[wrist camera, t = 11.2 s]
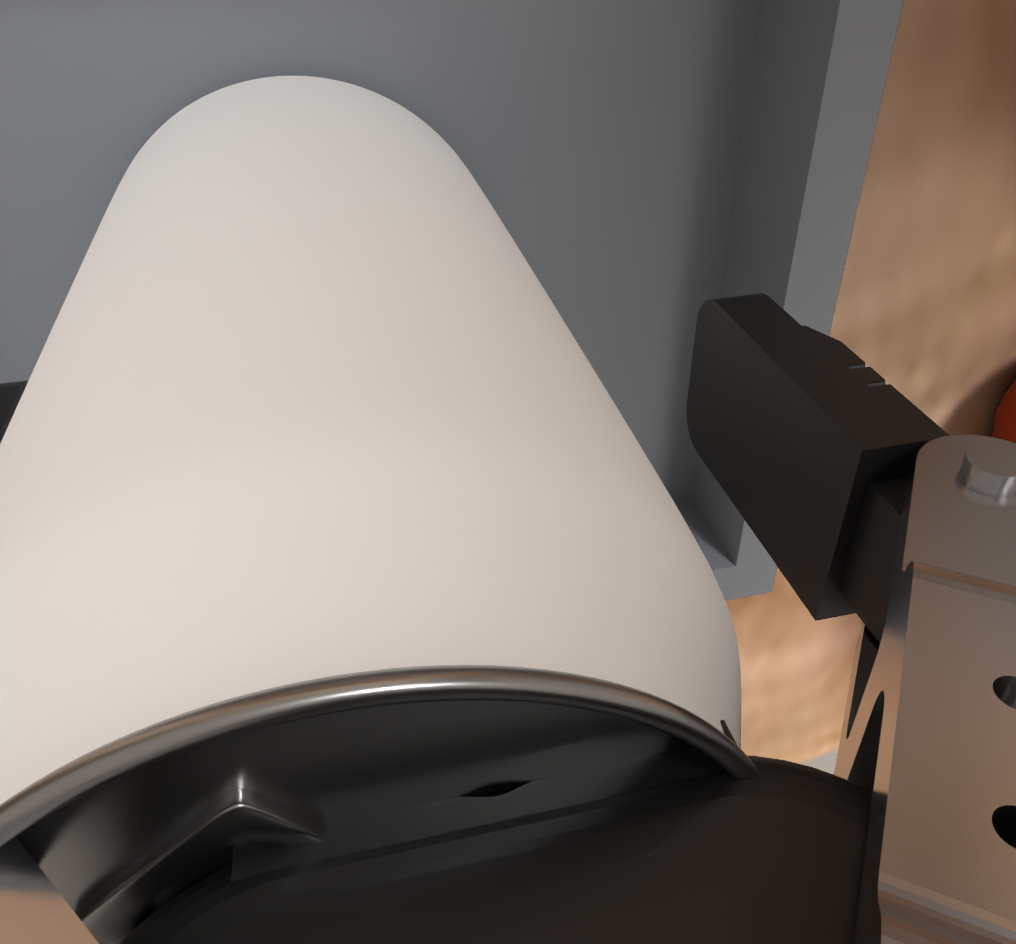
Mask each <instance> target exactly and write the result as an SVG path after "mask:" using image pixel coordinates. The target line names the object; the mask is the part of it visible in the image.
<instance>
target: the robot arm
mask: <svg viewBox="0 0 1016 944" xmlns="http://www.w3.org/2000/svg"><path fill="white" fill-rule="evenodd" d="M28 381H29V380H27V381H18V382H10V383H2V384H0V443H1V441H2V439H3V437H4V434H5V432H6V430H7V428H8V425H9V423H10V421H11V419H12V417H13V414H14V412H15V410H16V408H17V405H18V403H19V401H20V399H21V396H22V394H23V392H24V390H25V388H26V385H27V383H28ZM686 415H687V425H688V431H689V435H690V438H691V441H692V444H693V446H694V448H695V450H696V452H697V453H698V455H699V456H700V457H701V459H702V460H703V462H704V463H705V465H706V466H707V467H708V469H709V470H710V472H711V473H712V474H713V476H714V477H715V479H716V480H717V482H718V483H719V484H720V486H721V487H722V489H723V490H724V491H725V493H726V494H727V496H728V497H729V499H730V500H731V501H732V503H733V504H734V506H735V507H736V508H737V510H738V511H739V513H740V514H741V516H742V517H743V518H744V520H745V521H746V523H747V524H748V525H749V527H750V528H751V530H752V531H753V533H754V534H755V535H756V537H757V538H758V540H759V541H760V542H761V544H762V545H763V547H764V548H765V550H766V551H767V552H768V554H769V555H770V557H771V558H772V559H773V561H774V562H775V564H776V565H777V567H778V568H779V569H780V571H781V572H782V574H783V575H784V576H785V578H786V579H787V581H788V582H789V584H790V585H791V586H792V588H793V589H794V591H795V592H796V593H797V595H798V596H799V598H800V599H801V601H802V602H803V603H804V605H805V606H806V608H807V609H808V610H809V612H810V613H811V615H812V616H813V618H814V619H815V620H822V619H827V618H832V617H837V616H843V615H848V614H853V613H857V615H858V616H859V617H860V619H861V620H862V621H863V623H864V624H863V627H862V630H861V633H860V636H859V639H858V642H857V646H856V652H855V657H854V663H853V669H852V675H851V680H850V686H849V692H848V698H847V703H846V709H845V715H844V721H843V726H842V732H841V738H840V744H839V749H838V755H837V761H836V766H835V770H834V775H833V774H830V773H827V772H824V771H821V770H819V769H816V768H813V767H809V766H805V765H801V764H797V763H793V762H789V761H785V760H779V759H772V758H765V757H758V756H747V757H748V758H749V759H750V760H751V761H752V763H753V764H754V765H755V767H756V768H757V771H758V773H757V775H756V776H755V777H753V778H750V779H744V780H738V779H735V778H732V777H731V776H730V775H729V774H728V773H727V772H726V771H725V770H724V769H723V768H722V767H721V766H720V765H718V764H717V763H716V762H715V761H713V760H712V759H711V758H710V757H708V756H707V755H705V754H704V753H703V752H701V751H700V750H698V749H696V748H695V747H693V746H691V745H690V744H688V743H685V744H684V745H682V746H680V747H678V748H675V749H672V750H668V751H665V752H660V753H656V754H652V755H648V756H644V757H640V758H635V759H631V760H626V761H622V762H618V763H613V764H609V765H604V766H599V767H595V768H590V769H586V770H581V771H577V772H572V773H567V774H563V775H558V776H553V777H549V778H544V779H539V780H535V781H531V782H529V783H527V784H525V785H523V786H521V787H519V788H517V789H515V790H513V791H511V792H508V793H505V794H503V795H499V796H494V797H454V798H449V799H444V800H440V801H435V802H430V803H425V804H421V805H416V806H411V807H406V808H402V809H397V810H392V811H387V812H383V813H378V814H373V815H368V816H363V817H359V818H354V819H349V820H344V821H340V822H335V823H330V824H325V825H326V838H325V840H324V841H322V842H320V843H316V844H311V845H305V846H289V845H284V844H278V843H272V842H261V841H249V842H242V843H238V844H235V845H233V860H232V864H231V865H229V866H227V867H225V868H222V869H220V870H218V871H216V872H214V873H212V874H210V875H209V876H207V877H205V878H204V879H202V880H200V881H199V882H197V883H195V884H194V885H192V886H190V887H189V888H187V889H185V890H184V891H182V892H181V893H179V894H178V895H176V896H175V897H174V898H172V899H171V900H170V901H168V902H167V903H166V904H164V905H163V906H162V907H160V908H159V909H157V910H156V911H155V912H153V913H152V914H151V915H150V916H149V917H148V918H146V919H145V920H144V921H143V922H142V923H141V924H140V925H139V926H137V927H136V928H135V929H134V930H133V931H132V932H131V933H130V934H128V935H127V936H126V937H125V938H124V939H123V940H122V941H121V942H120V943H119V944H1016V443H1012V442H1009V441H1006V440H1002V439H998V438H994V437H988V436H982V435H970V434H961V435H948V434H947V433H946V432H945V431H944V430H942V429H941V428H940V427H939V426H938V425H937V424H936V423H934V422H933V421H932V420H931V419H930V418H929V417H927V416H926V415H925V414H924V413H923V412H922V411H921V410H919V409H918V408H917V407H916V406H915V405H914V404H912V403H911V402H910V401H909V400H908V399H907V398H906V397H904V396H903V395H902V394H901V393H900V392H899V391H897V390H896V389H895V388H894V387H893V386H892V385H890V384H889V385H886V384H885V379H884V378H882V377H881V376H880V375H879V374H878V373H877V372H875V371H874V370H873V369H872V368H871V367H865V362H864V361H863V360H862V359H860V358H859V357H858V356H857V355H856V354H855V353H853V352H852V351H851V350H850V349H849V348H848V347H847V346H845V345H844V344H843V343H842V342H841V341H838V340H836V339H834V338H832V337H830V336H827V335H825V334H823V333H821V332H819V331H816V330H814V329H812V328H810V327H808V326H806V325H804V326H801V325H800V324H799V323H798V322H797V321H796V320H795V319H794V318H793V317H791V316H790V315H789V314H788V313H787V312H786V311H785V310H784V309H783V308H781V307H780V306H779V305H778V304H777V303H776V302H775V301H774V300H772V299H771V298H770V297H769V296H768V295H766V294H763V293H760V294H751V295H743V296H735V297H726V298H718V299H710V300H707V301H705V302H704V303H703V304H702V306H701V308H700V310H699V313H698V316H697V322H696V331H695V339H694V347H693V356H692V364H691V372H690V381H689V389H688V397H687V407H686ZM720 723H721V726H722V729H723V732H724V734H725V735H726V736H727V737H728V738H729V739H731V740H732V741H733V742H734V743H735V744H736V742H735V740H734V738H733V736H732V734H731V732H730V730H729V728H728V726H727V725H726V723H725V721H724V720H720ZM736 745H737V744H736ZM0 944H99V943H98V942H97V940H96V939H95V938H94V937H93V935H92V934H91V933H90V931H89V930H88V929H87V928H86V926H85V925H84V924H83V922H82V921H81V920H80V919H79V917H78V916H77V915H76V913H75V912H74V911H73V910H72V908H71V907H70V906H69V904H68V903H67V902H66V901H65V899H64V898H63V897H62V895H61V894H60V893H59V892H58V890H57V889H56V888H55V886H54V885H53V884H52V883H51V881H50V880H49V879H48V877H47V876H46V875H45V874H44V872H43V871H42V870H41V868H40V867H39V866H38V865H37V863H36V862H35V861H34V859H33V858H32V857H31V855H30V854H29V853H28V852H27V850H26V849H25V848H24V846H23V845H22V844H21V843H20V841H19V840H18V839H17V837H14V838H13V839H11V840H10V841H9V842H7V843H6V844H5V845H3V846H2V847H1V848H0Z"/></svg>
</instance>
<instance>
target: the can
mask: <svg viewBox="0 0 1016 944" xmlns="http://www.w3.org/2000/svg"><path fill="white" fill-rule="evenodd" d="M720 720H724V721H725V723H726V725H727V726H728V728H729V730H730V732H731V734H732V736H733V738H734V740H735V742H736V744H737V745H736V744H735V743H734V742H733V741H732V740H731V739H729V738H728V737H727V736H726V735H725V734H724V732H723V729H722V726H721V723H720ZM685 743H688V744H690V745H691V746H693V747H695V748H696V749H698V750H700V751H701V752H703V753H704V754H705V755H707V756H708V757H710V758H711V759H712V760H713V761H715V762H716V763H717V764H718V765H720V766H721V767H722V768H723V769H724V770H725V771H726V772H727V773H728V774H729V775H730V776H731V777H732V778H735V779H738V780H744V779H750V778H753V777H755V776H756V775H757V773H758V771H757V768H756V767H755V765H754V764H753V763H752V761H751V760H750V759H749V758H748V757H747V755H746V754H745V753H744V752H743V751H742V750H741V675H740V661H739V654H738V647H737V640H736V634H735V630H734V625H733V621H732V618H731V615H730V612H729V609H728V606H727V604H726V601H725V599H724V596H723V594H722V592H721V590H720V587H719V585H718V583H717V580H716V578H715V576H714V573H713V571H712V569H711V567H710V565H709V563H708V561H707V559H706V558H705V556H704V554H703V552H702V550H701V549H700V547H699V545H698V543H697V542H696V540H695V538H694V536H693V534H692V533H691V531H690V529H689V527H688V525H687V524H686V522H685V520H684V518H683V517H682V515H681V513H680V511H679V510H678V508H677V506H676V504H675V503H674V501H673V499H672V498H671V496H670V494H669V493H668V491H667V489H666V488H665V486H664V484H663V483H662V481H661V479H660V478H659V476H658V474H657V473H656V471H655V469H654V468H653V466H652V464H651V463H650V461H649V459H648V458H647V456H646V454H645V453H644V451H643V449H642V448H641V446H640V444H639V443H638V441H637V439H636V438H635V436H634V435H633V433H632V431H631V430H630V428H629V426H628V425H627V423H626V421H625V420H624V418H623V417H622V415H621V413H620V412H619V410H618V408H617V407H616V405H615V404H614V402H613V400H612V399H611V397H610V395H609V394H608V392H607V390H606V389H605V387H604V386H603V384H602V382H601V381H600V379H599V377H598V376H597V374H596V372H595V371H594V369H593V368H592V366H591V364H590V363H589V361H588V359H587V358H586V356H585V355H584V353H583V351H582V350H581V348H580V346H579V345H578V343H577V342H576V340H575V338H574V337H573V335H572V333H571V332H570V330H569V329H568V327H567V325H566V324H565V322H564V321H563V319H562V317H561V316H560V314H559V312H558V311H557V309H556V308H555V306H554V304H553V303H552V301H551V299H550V298H549V296H548V295H547V293H546V291H545V290H544V288H543V287H542V285H541V283H540V282H539V280H538V279H537V277H536V275H535V274H534V272H533V271H532V269H531V267H530V266H529V264H528V262H527V261H526V259H525V258H524V256H523V254H522V253H521V251H520V250H519V248H518V246H517V245H516V243H515V242H514V240H513V238H512V237H511V235H510V234H509V232H508V230H507V229H506V227H505V226H504V224H503V223H502V221H501V219H500V218H499V216H498V215H497V213H496V211H495V210H494V208H493V207H492V205H491V204H490V202H489V200H488V199H487V197H486V196H485V194H484V193H483V191H482V190H481V188H480V187H479V185H478V184H477V182H476V180H475V179H474V177H473V176H472V174H471V173H470V172H469V170H468V169H467V167H466V166H465V165H464V163H463V162H462V160H461V159H460V158H459V156H458V155H457V154H456V153H455V152H454V150H453V149H452V148H451V147H450V146H449V145H448V144H447V142H446V141H445V140H444V139H443V138H442V137H441V136H440V135H439V134H438V133H437V132H435V131H434V130H433V129H432V128H431V127H430V126H429V125H428V124H426V123H425V122H424V121H423V120H421V119H420V118H419V117H417V116H416V115H415V114H413V113H412V112H410V111H409V110H407V109H406V108H404V107H403V106H401V105H399V104H398V103H396V102H394V101H392V100H390V99H388V98H386V97H384V96H382V95H380V94H378V93H375V92H373V91H371V90H368V89H365V88H362V87H360V86H357V85H353V84H350V83H346V82H342V81H338V80H333V79H328V78H321V77H312V76H274V77H265V78H259V79H253V80H249V81H244V82H241V83H237V84H234V85H230V86H228V87H225V88H222V89H219V90H217V91H215V92H212V93H210V94H208V95H206V96H204V97H202V98H200V99H198V100H196V101H194V102H193V103H191V104H190V105H188V106H186V107H185V108H183V109H182V110H181V111H179V112H178V113H176V114H175V115H174V116H173V117H171V118H170V119H169V120H168V121H166V122H165V123H164V124H163V125H162V126H161V127H160V128H159V129H158V130H157V131H156V132H155V133H154V134H153V135H152V136H151V137H150V138H149V140H148V141H147V142H146V143H145V144H144V146H143V147H142V148H141V149H140V151H139V152H138V153H137V155H136V156H135V158H134V159H133V161H132V162H131V164H130V166H129V167H128V169H127V171H126V173H125V174H124V176H123V178H122V180H121V182H120V184H119V185H118V187H117V190H116V192H115V194H114V196H113V198H112V200H111V202H110V204H109V206H108V208H107V210H106V212H105V214H104V217H103V219H102V221H101V223H100V225H99V227H98V230H97V232H96V234H95V236H94V238H93V240H92V242H91V245H90V247H89V249H88V251H87V253H86V255H85V258H84V260H83V262H82V264H81V266H80V269H79V271H78V273H77V275H76V277H75V279H74V282H73V284H72V286H71V288H70V290H69V293H68V295H67V297H66V299H65V301H64V304H63V306H62V308H61V310H60V312H59V315H58V317H57V319H56V321H55V323H54V326H53V328H52V330H51V332H50V334H49V337H48V339H47V341H46V343H45V345H44V348H43V350H42V352H41V354H40V357H39V359H38V361H37V363H36V365H35V368H34V370H33V372H32V374H31V376H30V379H29V381H28V383H27V385H26V388H25V390H24V392H23V394H22V396H21V399H20V401H19V403H18V405H17V408H16V410H15V412H14V414H13V417H12V419H11V421H10V423H9V425H8V428H7V430H6V432H5V434H4V437H3V439H2V441H1V443H0V848H1V847H2V846H3V845H5V844H6V843H7V842H9V841H10V840H11V839H13V838H14V837H17V839H18V840H19V841H20V843H21V844H22V845H23V846H24V848H25V849H26V850H27V852H28V853H29V854H30V855H31V857H32V858H33V859H34V861H35V862H36V863H37V865H38V866H39V867H40V868H41V870H42V871H43V872H44V874H45V875H46V876H47V877H48V879H49V880H50V881H51V883H52V884H53V885H54V886H55V888H56V889H57V890H58V892H59V893H60V894H61V895H62V897H63V898H64V899H65V901H66V902H67V903H68V904H69V906H70V907H71V908H72V910H73V911H74V912H75V913H76V915H77V916H78V917H79V919H80V920H81V921H82V922H83V924H84V925H85V926H86V928H87V929H88V930H89V931H90V933H91V934H92V935H93V937H94V938H95V939H96V940H97V942H98V943H99V944H119V943H120V942H121V941H122V940H123V939H124V938H125V937H126V936H127V935H128V934H130V933H131V932H132V931H133V930H134V929H135V928H136V927H137V926H139V925H140V924H141V923H142V922H143V921H144V920H145V919H146V918H148V917H149V916H150V915H151V914H152V913H153V912H155V911H156V910H157V909H159V908H160V907H162V906H163V905H164V904H166V903H167V902H168V901H170V900H171V899H172V898H174V897H175V896H176V895H178V894H179V893H181V892H182V891H184V890H185V889H187V888H189V887H190V886H192V885H194V884H195V883H197V882H199V881H200V880H202V879H204V878H205V877H207V876H209V875H210V874H212V873H214V872H216V871H218V870H220V869H222V868H225V867H227V866H229V865H231V864H232V860H233V845H235V844H238V843H242V842H249V841H261V842H272V843H278V844H284V845H289V846H305V845H311V844H316V843H320V842H322V841H324V840H325V838H326V825H325V824H330V823H335V822H340V821H344V820H349V819H354V818H359V817H363V816H368V815H373V814H378V813H383V812H387V811H392V810H397V809H402V808H406V807H411V806H416V805H421V804H425V803H430V802H435V801H440V800H444V799H449V798H454V797H494V796H499V795H503V794H505V793H508V792H511V791H513V790H515V789H517V788H519V787H521V786H523V785H525V784H527V783H529V782H531V781H535V780H539V779H544V778H549V777H553V776H558V775H563V774H567V773H572V772H577V771H581V770H586V769H590V768H595V767H599V766H604V765H609V764H613V763H618V762H622V761H626V760H631V759H635V758H640V757H644V756H648V755H652V754H656V753H660V752H665V751H668V750H672V749H675V748H678V747H680V746H682V745H684V744H685Z"/></svg>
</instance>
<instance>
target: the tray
mask: <svg viewBox="0 0 1016 944" xmlns="http://www.w3.org/2000/svg"><path fill="white" fill-rule="evenodd" d="M903 1H904V0H0V384H2V383H10V382H18V381H27V380H29V379H30V376H31V374H32V372H33V370H34V368H35V365H36V363H37V361H38V359H39V357H40V354H41V352H42V350H43V348H44V345H45V343H46V341H47V339H48V337H49V334H50V332H51V330H52V328H53V326H54V323H55V321H56V319H57V317H58V315H59V312H60V310H61V308H62V306H63V304H64V301H65V299H66V297H67V295H68V293H69V290H70V288H71V286H72V284H73V282H74V279H75V277H76V275H77V273H78V271H79V269H80V266H81V264H82V262H83V260H84V258H85V255H86V253H87V251H88V249H89V247H90V245H91V242H92V240H93V238H94V236H95V234H96V232H97V230H98V227H99V225H100V223H101V221H102V219H103V217H104V214H105V212H106V210H107V208H108V206H109V204H110V202H111V200H112V198H113V196H114V194H115V192H116V190H117V187H118V185H119V184H120V182H121V180H122V178H123V176H124V174H125V173H126V171H127V169H128V167H129V166H130V164H131V162H132V161H133V159H134V158H135V156H136V155H137V153H138V152H139V151H140V149H141V148H142V147H143V146H144V144H145V143H146V142H147V141H148V140H149V138H150V137H151V136H152V135H153V134H154V133H155V132H156V131H157V130H158V129H159V128H160V127H161V126H162V125H163V124H164V123H165V122H166V121H168V120H169V119H170V118H171V117H173V116H174V115H175V114H176V113H178V112H179V111H181V110H182V109H183V108H185V107H186V106H188V105H190V104H191V103H193V102H194V101H196V100H198V99H200V98H202V97H204V96H206V95H208V94H210V93H212V92H215V91H217V90H219V89H222V88H225V87H228V86H230V85H234V84H237V83H241V82H244V81H249V80H253V79H259V78H265V77H274V76H312V77H321V78H328V79H333V80H338V81H342V82H346V83H350V84H353V85H357V86H360V87H362V88H365V89H368V90H371V91H373V92H375V93H378V94H380V95H382V96H384V97H386V98H388V99H390V100H392V101H394V102H396V103H398V104H399V105H401V106H403V107H404V108H406V109H407V110H409V111H410V112H412V113H413V114H415V115H416V116H417V117H419V118H420V119H421V120H423V121H424V122H425V123H426V124H428V125H429V126H430V127H431V128H432V129H433V130H434V131H435V132H437V133H438V134H439V135H440V136H441V137H442V138H443V139H444V140H445V141H446V142H447V144H448V145H449V146H450V147H451V148H452V149H453V150H454V152H455V153H456V154H457V155H458V156H459V158H460V159H461V160H462V162H463V163H464V165H465V166H466V167H467V169H468V170H469V172H470V173H471V174H472V176H473V177H474V179H475V180H476V182H477V184H478V185H479V187H480V188H481V190H482V191H483V193H484V194H485V196H486V197H487V199H488V200H489V202H490V204H491V205H492V207H493V208H494V210H495V211H496V213H497V215H498V216H499V218H500V219H501V221H502V223H503V224H504V226H505V227H506V229H507V230H508V232H509V234H510V235H511V237H512V238H513V240H514V242H515V243H516V245H517V246H518V248H519V250H520V251H521V253H522V254H523V256H524V258H525V259H526V261H527V262H528V264H529V266H530V267H531V269H532V271H533V272H534V274H535V275H536V277H537V279H538V280H539V282H540V283H541V285H542V287H543V288H544V290H545V291H546V293H547V295H548V296H549V298H550V299H551V301H552V303H553V304H554V306H555V308H556V309H557V311H558V312H559V314H560V316H561V317H562V319H563V321H564V322H565V324H566V325H567V327H568V329H569V330H570V332H571V333H572V335H573V337H574V338H575V340H576V342H577V343H578V345H579V346H580V348H581V350H582V351H583V353H584V355H585V356H586V358H587V359H588V361H589V363H590V364H591V366H592V368H593V369H594V371H595V372H596V374H597V376H598V377H599V379H600V381H601V382H602V384H603V386H604V387H605V389H606V390H607V392H608V394H609V395H610V397H611V399H612V400H613V402H614V404H615V405H616V407H617V408H618V410H619V412H620V413H621V415H622V417H623V418H624V420H625V421H626V423H627V425H628V426H629V428H630V430H631V431H632V433H633V435H634V436H635V438H636V439H637V441H638V443H639V444H640V446H641V448H642V449H643V451H644V453H645V454H646V456H647V458H648V459H649V461H650V463H651V464H652V466H653V468H654V469H655V471H656V473H657V474H658V476H659V478H660V479H661V481H662V483H663V484H664V486H665V488H666V489H667V491H668V493H669V494H670V496H671V498H672V499H673V501H674V503H675V504H676V506H677V508H678V510H679V511H680V513H681V515H682V517H683V518H684V520H685V522H686V524H687V525H688V527H689V529H690V531H691V533H692V534H693V536H694V538H695V540H696V542H697V543H698V545H699V547H700V549H701V550H702V552H703V554H704V556H705V558H706V559H707V561H708V563H709V565H710V567H711V569H712V571H713V573H714V576H715V578H716V580H717V583H718V585H719V587H720V590H721V592H722V594H723V596H724V599H725V600H731V599H736V598H742V597H747V596H753V595H758V594H764V593H769V592H772V588H773V584H774V580H775V575H776V571H777V565H776V564H775V562H774V561H773V559H772V558H771V557H770V555H769V554H768V552H767V551H766V550H765V548H764V547H763V545H762V544H761V542H760V541H759V540H758V538H757V537H756V535H755V534H754V533H753V531H752V530H751V528H750V527H749V525H748V524H747V523H746V521H745V520H744V518H743V517H742V516H741V514H740V513H739V511H738V510H737V508H736V507H735V506H734V504H733V503H732V501H731V500H730V499H729V497H728V496H727V494H726V493H725V491H724V490H723V489H722V487H721V486H720V484H719V483H718V482H717V480H716V479H715V477H714V476H713V474H712V473H711V472H710V470H709V469H708V467H707V466H706V465H705V463H704V462H703V460H702V459H701V457H700V456H699V455H698V453H697V452H696V450H695V448H694V446H693V444H692V441H691V438H690V435H689V431H688V425H687V415H686V407H687V397H688V389H689V381H690V372H691V364H692V356H693V347H694V339H695V331H696V322H697V316H698V313H699V310H700V308H701V306H702V304H703V303H704V302H705V301H707V300H710V299H718V298H726V297H735V296H743V295H751V294H760V293H763V294H766V295H768V296H769V297H770V298H771V299H772V300H774V301H775V302H776V303H777V304H778V305H779V306H780V307H781V308H783V309H784V310H785V311H786V312H787V313H788V314H789V315H790V316H791V317H793V318H794V319H795V320H796V321H797V322H798V323H799V324H800V325H801V326H804V325H806V326H808V327H810V328H812V329H814V330H816V331H819V332H821V333H823V334H825V335H827V336H829V333H830V328H831V324H832V319H833V315H834V310H835V306H836V301H837V297H838V292H839V288H840V283H841V279H842V274H843V270H844V265H845V261H846V256H847V252H848V247H849V243H850V238H851V234H852V229H853V225H854V220H855V216H856V211H857V207H858V202H859V198H860V194H861V189H862V185H863V180H864V176H865V171H866V167H867V162H868V158H869V153H870V149H871V144H872V140H873V135H874V131H875V126H876V122H877V117H878V113H879V108H880V104H881V99H882V95H883V90H884V86H885V81H886V77H887V72H888V68H889V63H890V59H891V54H892V50H893V45H894V41H895V36H896V32H897V27H898V23H899V18H900V14H901V10H902V5H903Z"/></svg>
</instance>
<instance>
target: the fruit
mask: <svg viewBox="0 0 1016 944" xmlns="http://www.w3.org/2000/svg"><path fill="white" fill-rule="evenodd" d="M992 437H994V438H998V439H1002V440H1006V441H1009V442H1012V443H1016V379H1015V381H1014V382H1013V383H1012V385H1011V386H1010V387H1009V389H1008V390H1007V392H1006V393H1005V395H1004V397H1003V399H1002V401H1001V403H1000V405H999V407H998V410H997V412H996V414H995V420H994V428H993V433H992Z"/></svg>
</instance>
